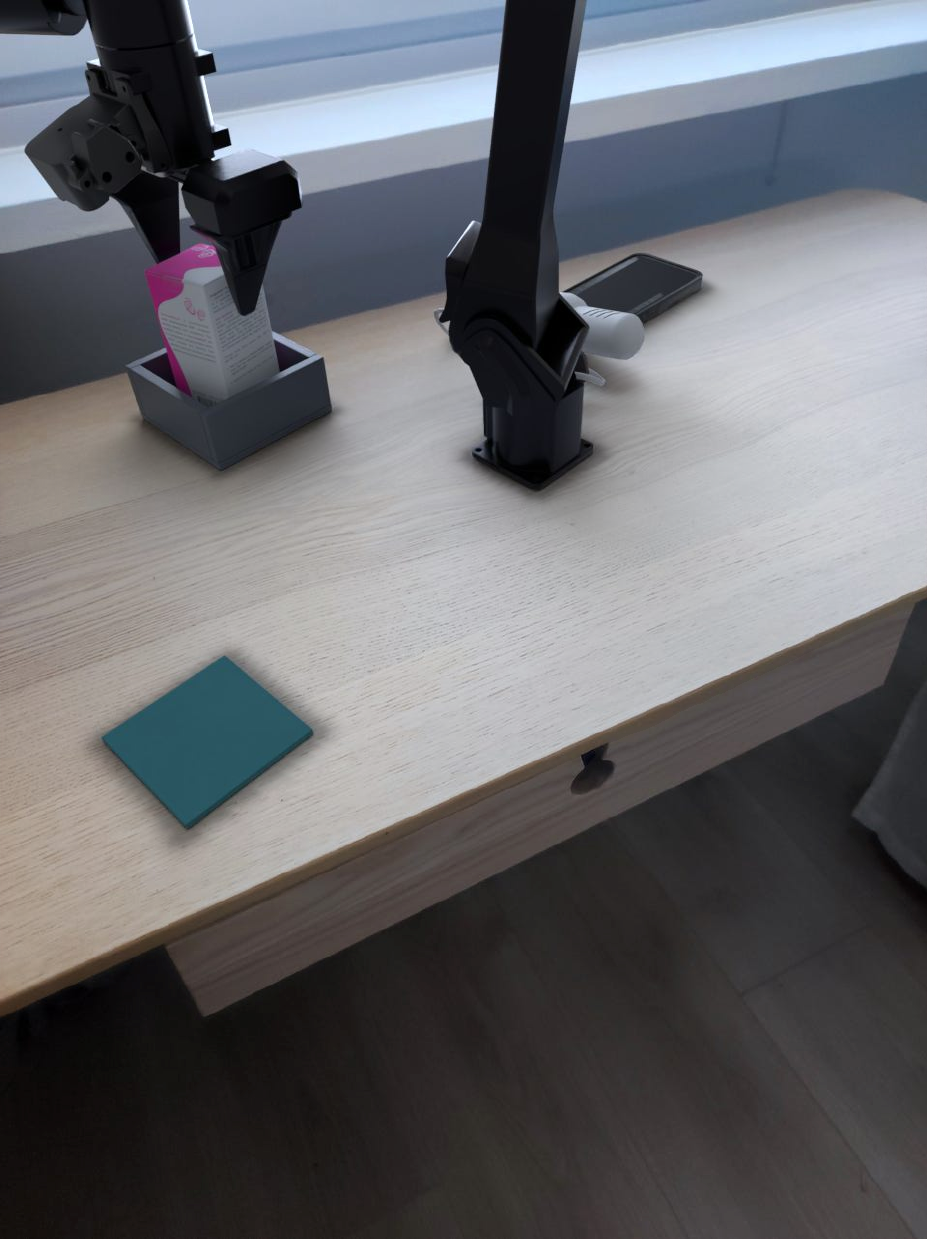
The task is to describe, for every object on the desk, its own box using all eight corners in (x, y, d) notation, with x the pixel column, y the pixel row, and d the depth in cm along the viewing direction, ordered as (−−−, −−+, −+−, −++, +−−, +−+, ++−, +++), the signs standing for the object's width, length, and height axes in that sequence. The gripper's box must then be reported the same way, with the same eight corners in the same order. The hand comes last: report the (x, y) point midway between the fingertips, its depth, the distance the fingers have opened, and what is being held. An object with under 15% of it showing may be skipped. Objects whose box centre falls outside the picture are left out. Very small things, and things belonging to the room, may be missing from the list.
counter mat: (313, 733, 48) (312, 729, 48) (187, 829, 44) (185, 825, 44) (226, 659, 52) (224, 654, 52) (103, 741, 48) (100, 736, 48)
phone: (534, 306, 79) (638, 250, 86) (534, 318, 80) (637, 261, 87) (605, 334, 75) (709, 273, 82) (604, 347, 76) (707, 285, 83)
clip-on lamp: (415, 386, 78) (562, 428, 66) (393, 316, 75) (545, 346, 62) (511, 327, 83) (666, 355, 70) (495, 258, 79) (656, 275, 67)
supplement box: (288, 399, 71) (260, 254, 63) (237, 436, 68) (200, 288, 59) (233, 380, 73) (199, 239, 65) (181, 415, 70) (138, 270, 62)
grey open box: (332, 410, 71) (324, 356, 68) (220, 471, 66) (205, 416, 62) (251, 365, 76) (239, 314, 73) (142, 418, 71) (124, 365, 68)
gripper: (-58, 44, 54) (39, 296, 65) (104, 100, 44) (186, 384, 55) (108, 7, 59) (172, 245, 70) (285, 49, 50) (326, 318, 61)
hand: (208, 294), depth 64 cm, fingers open, 9 cm apart
